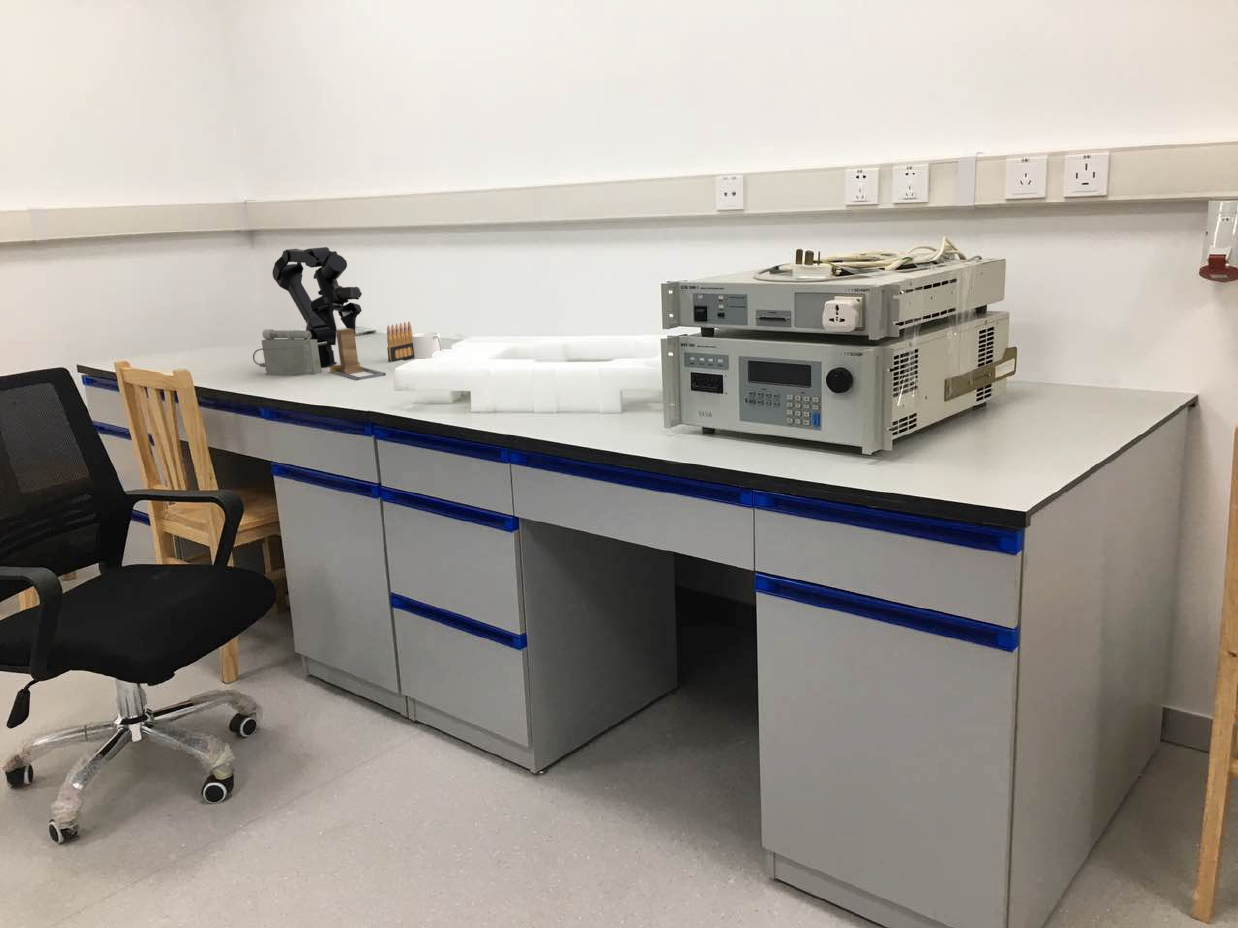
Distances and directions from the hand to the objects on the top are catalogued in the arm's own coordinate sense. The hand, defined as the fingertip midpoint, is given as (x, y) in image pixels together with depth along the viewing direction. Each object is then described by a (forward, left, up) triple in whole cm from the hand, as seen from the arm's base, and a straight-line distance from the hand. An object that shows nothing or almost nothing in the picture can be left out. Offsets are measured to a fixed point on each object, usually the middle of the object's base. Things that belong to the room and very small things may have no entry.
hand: (344, 333), depth 306 cm
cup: (+26, +6, -12) cm, 29 cm away
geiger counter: (-19, -5, -12) cm, 23 cm away
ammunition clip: (+8, +19, -12) cm, 24 cm away
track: (+7, -7, -12) cm, 15 cm away
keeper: (+3, -4, -11) cm, 12 cm away
